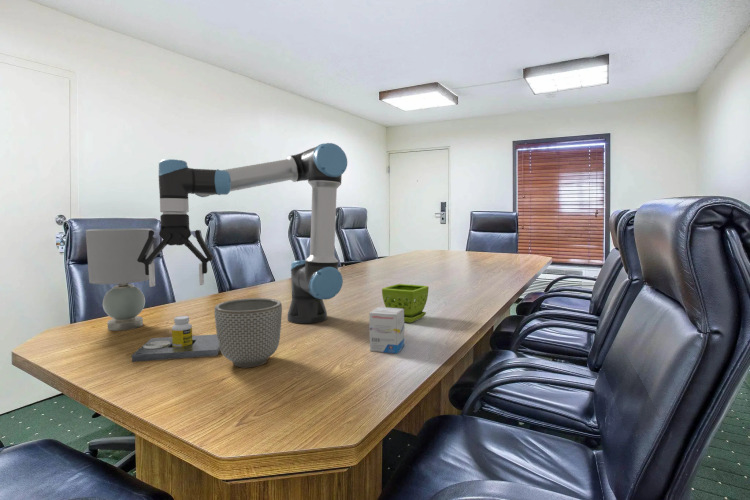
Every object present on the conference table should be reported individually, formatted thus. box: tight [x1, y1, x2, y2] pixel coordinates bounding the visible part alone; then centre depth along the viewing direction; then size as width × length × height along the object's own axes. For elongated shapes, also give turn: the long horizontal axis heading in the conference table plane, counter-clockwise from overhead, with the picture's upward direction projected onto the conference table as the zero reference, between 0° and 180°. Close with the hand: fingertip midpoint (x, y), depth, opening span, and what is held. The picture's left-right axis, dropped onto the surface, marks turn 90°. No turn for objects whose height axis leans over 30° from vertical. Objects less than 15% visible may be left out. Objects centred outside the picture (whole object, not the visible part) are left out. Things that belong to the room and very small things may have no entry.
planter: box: [214, 297, 283, 369], centre depth 108 cm, size 17×17×16 cm
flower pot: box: [381, 283, 430, 324], centre depth 154 cm, size 14×14×13 cm
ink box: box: [368, 306, 405, 355], centre depth 120 cm, size 9×8×12 cm
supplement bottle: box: [171, 315, 193, 348], centre depth 119 cm, size 5×5×10 cm
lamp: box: [85, 228, 155, 332], centre depth 144 cm, size 20×20×35 cm
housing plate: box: [131, 333, 221, 363], centre depth 120 cm, size 22×16×2 cm
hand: (177, 285), depth 119 cm, fingers open, 13 cm apart
